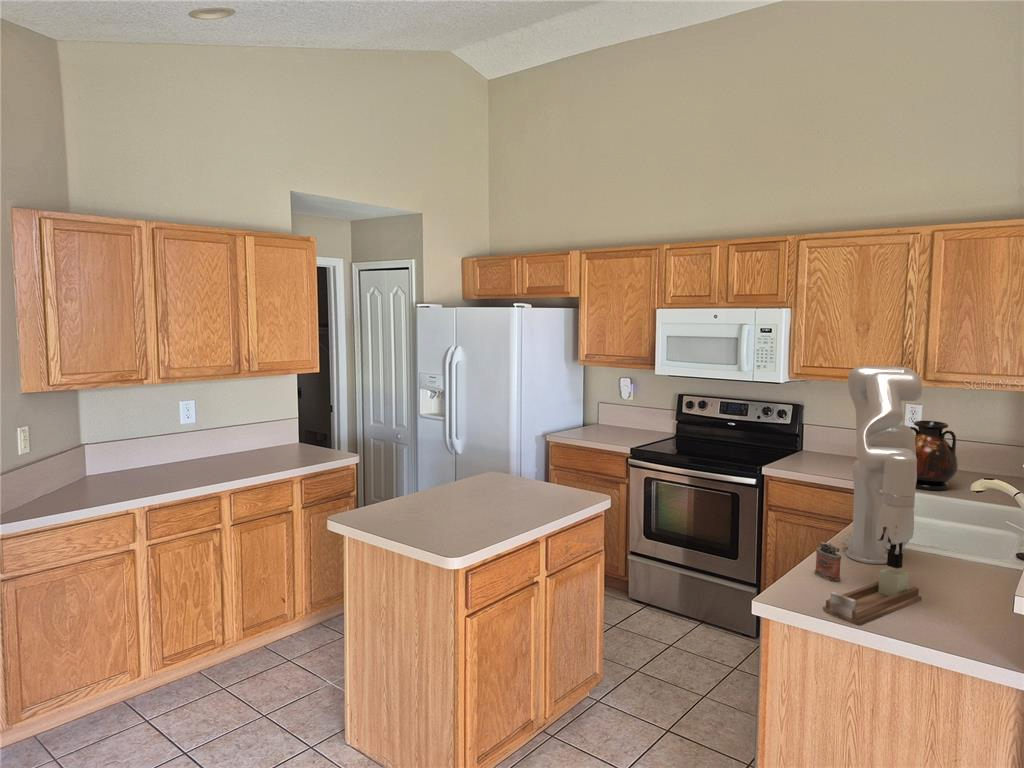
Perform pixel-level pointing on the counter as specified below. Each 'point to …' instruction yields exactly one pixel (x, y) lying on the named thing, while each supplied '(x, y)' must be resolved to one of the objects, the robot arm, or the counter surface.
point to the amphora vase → (934, 456)
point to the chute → (868, 603)
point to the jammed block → (892, 581)
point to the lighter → (828, 562)
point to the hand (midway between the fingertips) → (894, 566)
